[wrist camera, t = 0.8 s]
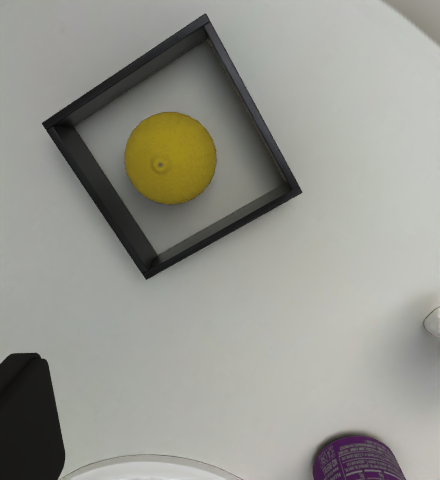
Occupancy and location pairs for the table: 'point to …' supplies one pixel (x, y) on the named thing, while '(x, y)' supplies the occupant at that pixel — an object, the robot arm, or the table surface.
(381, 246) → the table surface
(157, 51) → the black square frame
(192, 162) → the lemon
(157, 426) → the table surface
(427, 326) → the flower shoulder figurine
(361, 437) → the beverage can
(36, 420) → the robot arm
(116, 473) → the ceiling medallion
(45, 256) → the table surface
